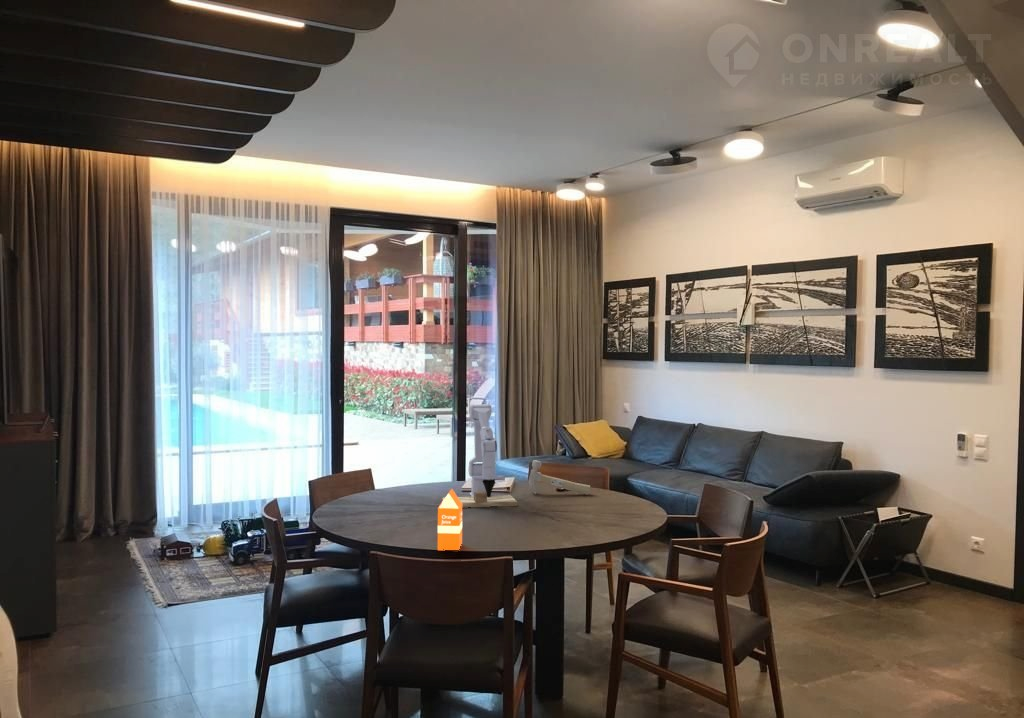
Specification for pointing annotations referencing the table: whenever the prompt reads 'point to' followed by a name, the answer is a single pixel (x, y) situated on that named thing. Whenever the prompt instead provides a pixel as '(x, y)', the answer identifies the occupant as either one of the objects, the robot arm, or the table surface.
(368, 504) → the table surface
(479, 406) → the robot arm
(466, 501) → the board
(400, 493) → the table surface
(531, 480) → the hammer
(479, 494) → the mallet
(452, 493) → the orange juice
